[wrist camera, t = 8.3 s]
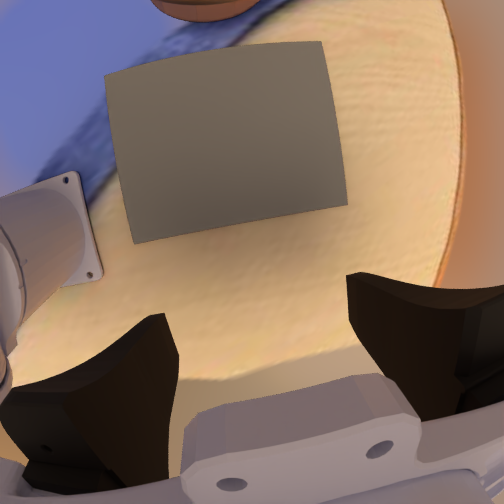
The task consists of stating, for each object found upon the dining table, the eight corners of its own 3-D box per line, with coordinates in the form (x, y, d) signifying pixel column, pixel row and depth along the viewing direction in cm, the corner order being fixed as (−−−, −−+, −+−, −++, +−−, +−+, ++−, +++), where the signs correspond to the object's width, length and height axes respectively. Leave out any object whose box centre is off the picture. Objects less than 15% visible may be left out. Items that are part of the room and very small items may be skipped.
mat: (135, 242, 21) (134, 244, 20) (106, 77, 17) (104, 75, 17) (345, 203, 22) (347, 204, 21) (319, 43, 18) (321, 41, 18)
